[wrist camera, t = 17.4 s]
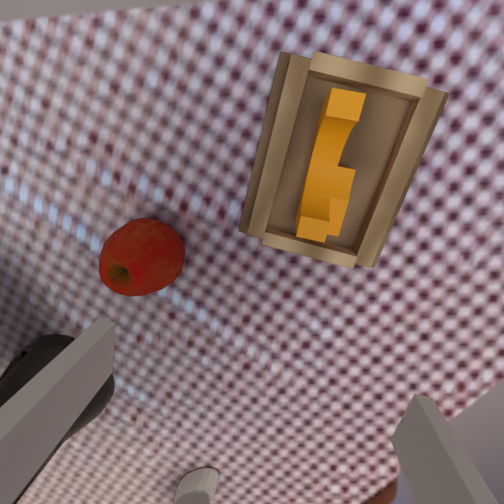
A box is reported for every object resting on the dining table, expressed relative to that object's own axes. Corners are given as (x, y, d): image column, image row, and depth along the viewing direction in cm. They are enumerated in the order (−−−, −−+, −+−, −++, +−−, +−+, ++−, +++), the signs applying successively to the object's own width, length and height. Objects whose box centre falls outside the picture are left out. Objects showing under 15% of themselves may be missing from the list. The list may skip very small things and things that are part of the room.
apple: (148, 197, 34) (90, 217, 24) (206, 236, 35) (173, 271, 25) (120, 250, 37) (58, 286, 27) (175, 285, 38) (133, 334, 28)
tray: (239, 228, 34) (234, 236, 31) (280, 54, 28) (279, 42, 25) (371, 264, 34) (380, 276, 31) (444, 95, 27) (464, 88, 24)
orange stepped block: (333, 228, 32) (344, 246, 26) (294, 220, 32) (296, 236, 26) (367, 109, 28) (389, 97, 22) (323, 101, 28) (332, 87, 22)
